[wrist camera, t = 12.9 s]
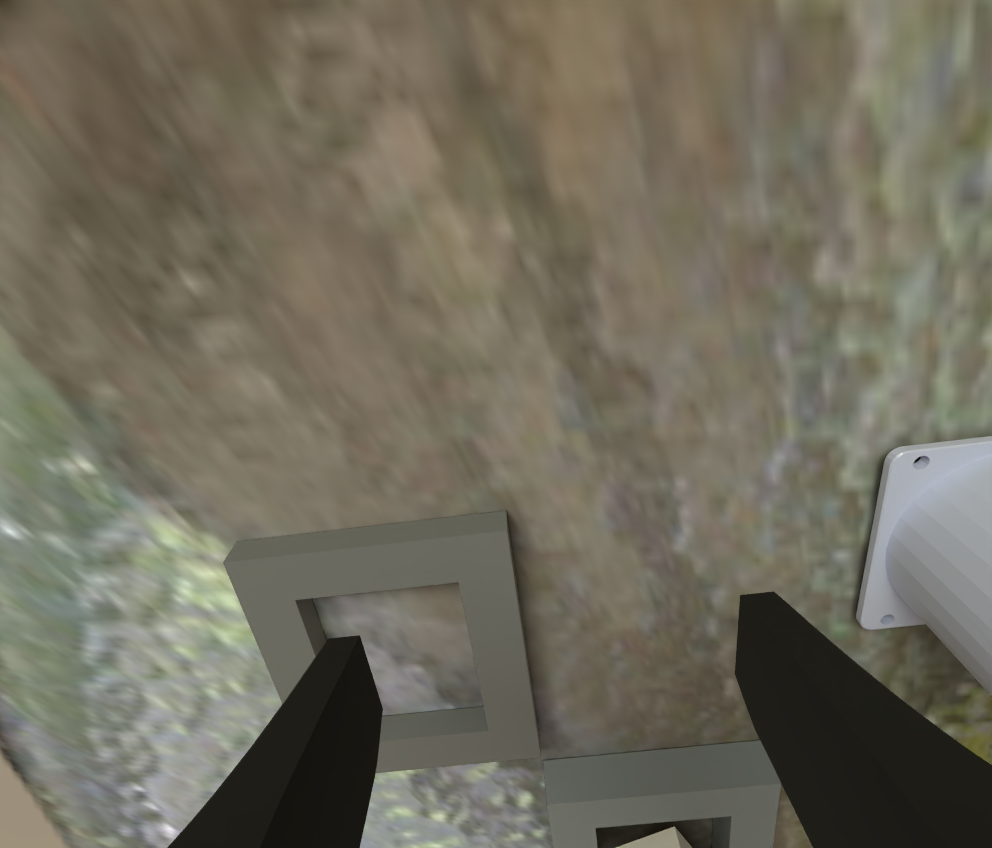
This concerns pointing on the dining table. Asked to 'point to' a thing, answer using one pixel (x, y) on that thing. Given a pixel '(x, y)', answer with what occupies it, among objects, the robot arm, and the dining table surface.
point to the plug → (660, 840)
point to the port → (666, 793)
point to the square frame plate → (395, 565)
